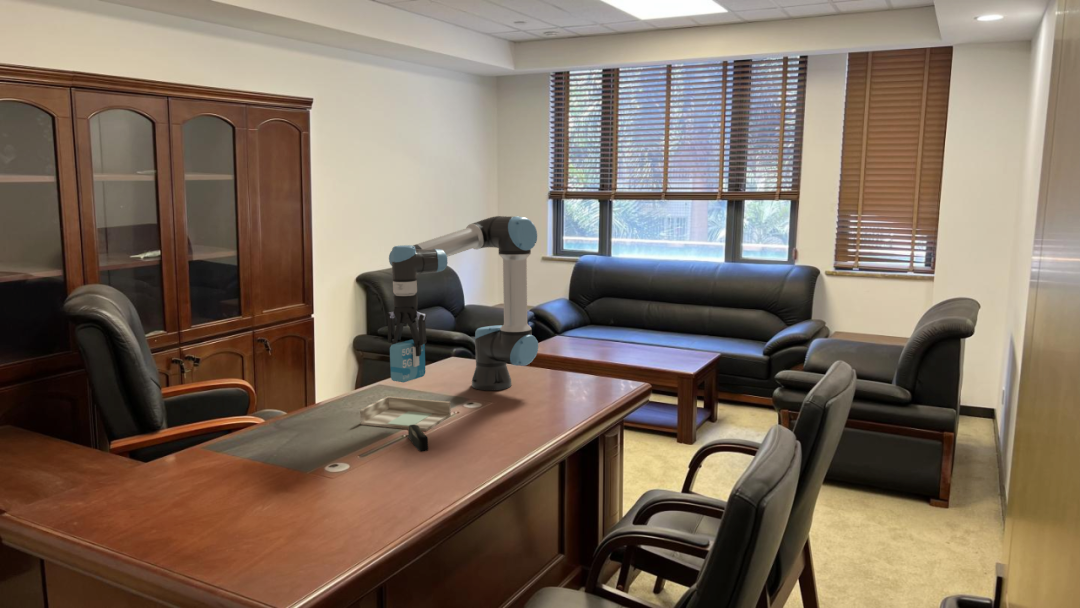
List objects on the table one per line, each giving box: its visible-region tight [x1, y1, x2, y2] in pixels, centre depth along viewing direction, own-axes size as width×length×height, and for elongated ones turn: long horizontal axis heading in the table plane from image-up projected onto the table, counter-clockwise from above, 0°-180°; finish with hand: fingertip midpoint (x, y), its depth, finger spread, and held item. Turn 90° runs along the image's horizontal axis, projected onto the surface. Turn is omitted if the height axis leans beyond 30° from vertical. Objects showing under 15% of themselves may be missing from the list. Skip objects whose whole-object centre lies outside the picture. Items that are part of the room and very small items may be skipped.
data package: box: [389, 339, 426, 383], centre depth 250 cm, size 12×4×12 cm, turn 148°
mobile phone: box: [406, 425, 429, 452], centre depth 230 cm, size 5×3×15 cm
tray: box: [359, 395, 452, 432], centre depth 254 cm, size 17×24×5 cm
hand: (408, 365), depth 251 cm, fingers closed on data package, 5 cm apart
